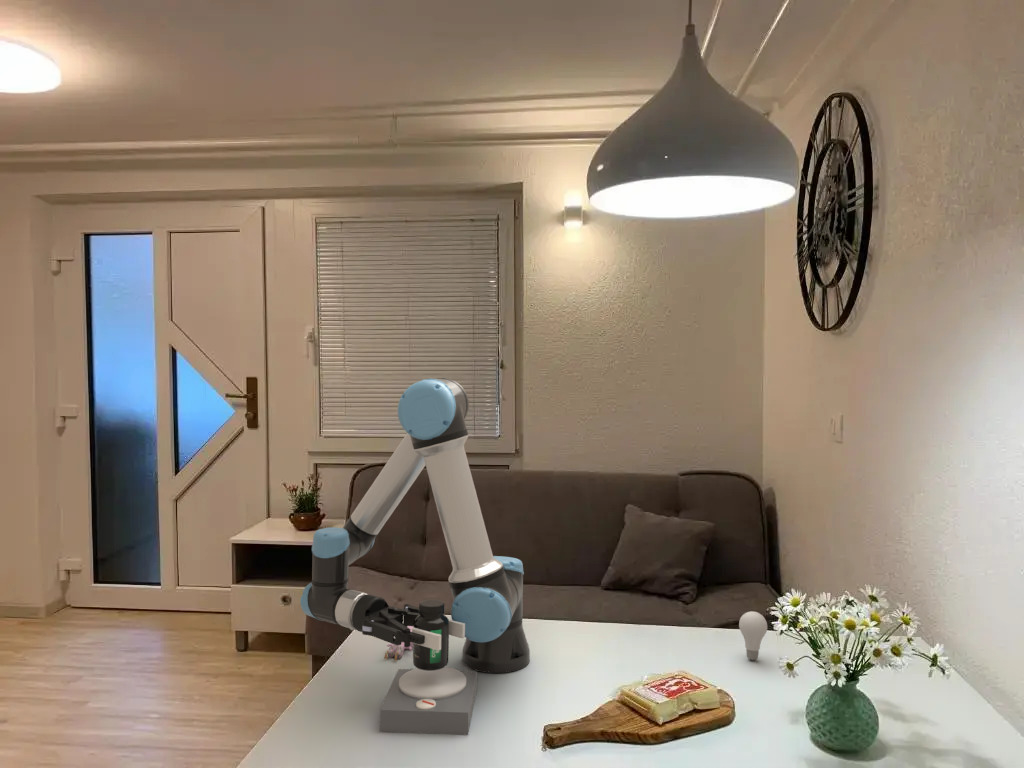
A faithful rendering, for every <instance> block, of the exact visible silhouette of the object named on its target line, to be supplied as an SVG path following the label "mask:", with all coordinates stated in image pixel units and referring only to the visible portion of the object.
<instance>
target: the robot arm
mask: <svg viewBox="0 0 1024 768" xmlns="http://www.w3.org/2000/svg"><path fill="white" fill-rule="evenodd" d="M397 404H398V405H397V417H398V421H399V423H400V426H401V427H402V428H403V430H404V431H405V432H406V434H405V436H404V437H403V438H402V440H401V441H400V443H399V444H398V446H397V447H396V449H395V450H394V451H393V453H392V454H391V456H390V457H389V458H388V461H386V463H385V465H384V467H383V468H382V469H381V470H380V472H379V474H378V476H376V478H375V479H374V481H373V483H372V484H371V485H370V486H369V488H368V490H367V491H366V493H365V494H364V496H363V497H362V499H361V500H360V502H359V503H358V504H357V506H356V507H355V509H354V510H353V511H352V513H351V515H350V517H349V518H348V519H347V520H346V523H344V525H343V526H342V527H337V526H336V527H335V526H334V527H331V526H330V527H324V528H318V530H315V532H314V533H313V536H312V537H313V538H312V545H311V554H312V557H311V558H312V561H311V562H312V563H311V565H312V567H311V570H312V571H311V577H312V578H311V582H310V583H308V584H307V585H306V586H305V587H304V588H303V590H302V595H301V596H300V601H299V602H300V604H299V605H300V608H301V610H302V612H303V613H304V614H305V615H306V616H309V617H311V618H314V619H315V620H318V621H322V622H327V623H330V624H334V625H338V626H341V627H343V628H344V627H345V628H347V629H350V631H357V632H360V633H361V634H362V635H363V636H368V637H369V636H370V637H374V638H376V639H379V640H381V641H385V642H387V643H388V644H394V645H401V642H404V647H410V642H412V643H414V644H418V645H421V646H424V647H428V648H431V649H435V650H438V651H439V650H441V635H439V634H436V633H432V632H429V631H425V630H421V629H418V628H412V632H410V629H409V628H408V626H414V620H415V618H416V617H417V616H419V615H420V614H419V606H418V607H417V606H414V605H411V604H409V603H406V604H405V603H404V604H403V608H398V607H396V606H390V605H389V604H388V602H387V600H385V598H383V597H381V596H379V595H373V594H369V593H367V592H363V591H359V590H356V589H355V590H354V589H350V588H349V587H348V586H349V583H348V582H349V566H350V565H351V564H353V563H354V562H355V561H357V560H359V559H360V558H362V557H364V556H365V555H367V554H368V553H369V551H371V549H372V548H373V546H374V544H375V541H376V540H375V539H376V538H377V536H378V535H379V534H380V532H381V530H382V529H383V527H384V526H385V524H386V522H387V521H388V520H389V519H390V517H391V516H392V514H393V513H394V511H395V510H396V508H397V507H398V506H399V504H400V503H401V501H402V500H403V498H404V497H405V495H406V494H407V493H408V491H410V488H411V487H412V485H413V484H414V483H415V481H416V480H417V478H418V477H419V475H420V474H421V472H422V471H423V469H425V467H426V472H427V475H428V479H429V483H430V486H431V491H432V494H433V498H434V502H435V504H436V505H435V506H436V510H437V513H438V517H439V520H440V525H441V529H442V532H443V535H444V536H443V537H444V539H445V544H446V547H447V551H448V554H449V558H450V562H451V566H452V571H451V572H450V575H449V576H448V585H449V588H450V591H451V595H452V598H453V602H452V604H451V610H450V615H451V619H450V618H448V620H449V636H452V637H456V638H460V639H464V638H465V640H464V644H463V647H462V652H461V654H462V657H461V659H462V663H463V664H464V665H465V666H466V667H467V668H469V669H472V670H473V671H477V672H483V673H491V674H504V673H505V674H506V673H510V672H511V673H512V672H514V671H515V672H516V671H518V670H519V671H520V670H521V669H524V668H525V667H527V665H528V664H529V663H530V657H531V656H530V655H531V654H530V653H531V650H530V647H529V643H528V639H527V637H526V633H525V630H524V627H523V613H524V612H523V611H524V610H523V608H524V607H523V599H524V597H523V596H524V592H523V591H524V575H525V572H524V566H523V565H524V564H523V561H522V560H521V559H519V558H516V557H511V556H504V555H503V556H502V555H501V556H499V555H498V556H497V555H494V554H493V551H492V548H491V544H490V543H491V542H490V540H489V536H488V532H487V529H486V524H485V521H484V518H483V517H484V516H483V514H482V509H481V506H480V503H479V499H478V495H477V490H476V487H475V484H474V480H473V479H474V478H473V476H472V472H471V468H470V465H469V461H468V456H467V453H466V450H465V444H466V442H467V440H468V438H469V432H468V428H467V424H466V418H467V417H468V413H469V409H470V408H469V407H470V400H469V397H468V394H467V392H466V390H465V389H464V387H463V386H462V385H461V384H460V383H458V382H456V381H455V380H453V379H450V378H446V377H441V378H440V377H438V378H425V379H422V380H419V381H417V382H415V383H412V384H411V385H410V386H408V387H407V388H406V389H405V390H404V392H403V393H402V394H401V396H400V398H399V401H398V403H397ZM443 615H445V613H444V614H443Z"/></svg>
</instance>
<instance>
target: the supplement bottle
mask: <svg viewBox="0 0 1024 768" xmlns="http://www.w3.org/2000/svg"><path fill="white" fill-rule="evenodd" d="M418 607H419V614H420V615H419V616H417V617H416V618H415V620H414V628H418V629H421V630H425V631H429V632H432V633H436V634H439V635H441V650H439V651H438V650H435V649H431V648H428V647H424V646H421V645H418V644H414V643H413V647H412V664H413V666H414V667H415V669H417V668H418V669H421V670H426V671H434V670H439V669H442V668H444V667H447V666H448V664H449V648H450V646H449V644H450V643H449V642H450V641H449V639H450V635H449V620H450V619H449V618H448V617H447V616H446V615H445V611H446V610H445V602H444V601H443V600H440V599H433V598H432V599H424V600H421V601H420V602H419V606H418ZM443 614H444V615H443ZM448 619H449V620H448Z"/></svg>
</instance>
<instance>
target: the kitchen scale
mask: <svg viewBox="0 0 1024 768" xmlns="http://www.w3.org/2000/svg"><path fill="white" fill-rule="evenodd" d="M477 676H478V671H477V670H458V669H455V668H453V667H448V666H445V667H444V668H442V669H439V670H434V671H426V670H421V669H418V668H413V669H412V668H411V669H409V668H398V669H397V672H396V673H395V676H394V678H393V680H392V683H391V685H390V687H389V689H388V691H387V693H386V695H385V698H384V700H383V702H382V703H381V707H380V709H379V733H381V732H382V733H408V734H409V733H412V734H413V733H414V734H415V733H416V734H439V735H443V734H444V735H469V733H470V726H471V721H472V716H473V712H474V711H473V710H474V705H475V701H476V696H477V689H478V686H477V685H478V683H477V682H478V677H477Z"/></svg>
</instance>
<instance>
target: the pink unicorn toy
mask: <svg viewBox="0 0 1024 768" xmlns="http://www.w3.org/2000/svg"><path fill="white" fill-rule="evenodd" d="M407 627H408V628H409V629H410V632H412V628H414V626H407ZM386 647H389V648H388V650H386V653H384V659H383V660H388V657H389V658H394V659H393V661H398V659H401V658H402V657H403V656H404V651H405V650H409V651H413V643H412V642H410V647H404V642H401V645H394V644H392V643H388V644H387V645H386Z"/></svg>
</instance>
